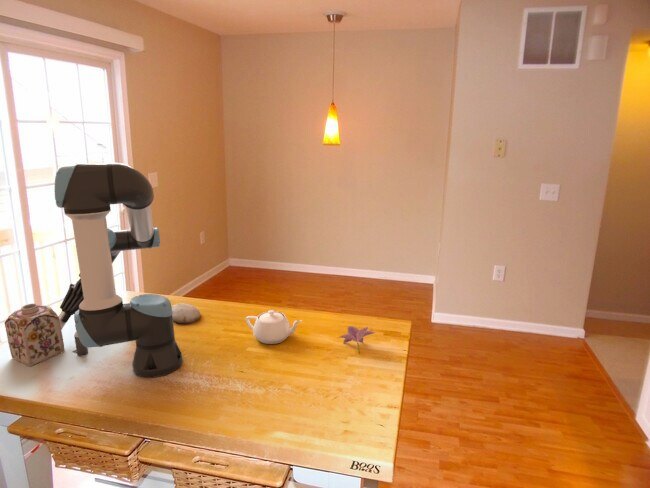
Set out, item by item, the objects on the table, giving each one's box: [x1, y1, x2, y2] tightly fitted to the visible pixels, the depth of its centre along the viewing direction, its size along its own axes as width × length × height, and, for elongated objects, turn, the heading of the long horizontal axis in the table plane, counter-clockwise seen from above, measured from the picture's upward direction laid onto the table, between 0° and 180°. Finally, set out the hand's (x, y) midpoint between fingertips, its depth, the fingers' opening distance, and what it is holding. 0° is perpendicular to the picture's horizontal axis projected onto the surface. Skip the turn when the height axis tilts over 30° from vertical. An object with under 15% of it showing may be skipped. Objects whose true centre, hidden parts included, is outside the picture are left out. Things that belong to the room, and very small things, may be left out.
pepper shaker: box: [74, 331, 89, 357], centre depth 145 cm, size 3×3×9 cm
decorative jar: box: [4, 303, 66, 367], centre depth 143 cm, size 12×12×18 cm
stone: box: [171, 302, 201, 325], centre depth 173 cm, size 13×10×8 cm
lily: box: [338, 325, 376, 355], centre depth 149 cm, size 12×12×10 cm
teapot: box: [245, 309, 303, 345], centre depth 156 cm, size 22×14×11 cm, turn 73°
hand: (55, 329), depth 150 cm, fingers closed
